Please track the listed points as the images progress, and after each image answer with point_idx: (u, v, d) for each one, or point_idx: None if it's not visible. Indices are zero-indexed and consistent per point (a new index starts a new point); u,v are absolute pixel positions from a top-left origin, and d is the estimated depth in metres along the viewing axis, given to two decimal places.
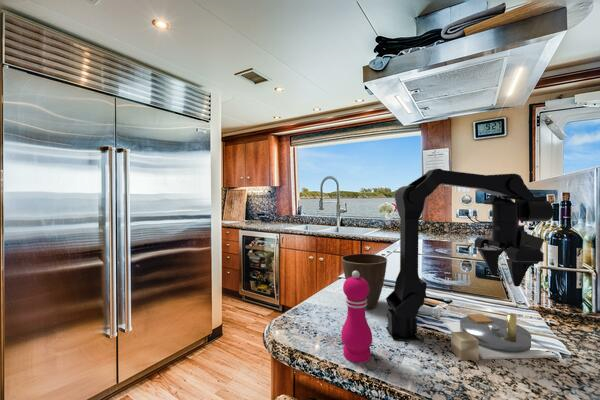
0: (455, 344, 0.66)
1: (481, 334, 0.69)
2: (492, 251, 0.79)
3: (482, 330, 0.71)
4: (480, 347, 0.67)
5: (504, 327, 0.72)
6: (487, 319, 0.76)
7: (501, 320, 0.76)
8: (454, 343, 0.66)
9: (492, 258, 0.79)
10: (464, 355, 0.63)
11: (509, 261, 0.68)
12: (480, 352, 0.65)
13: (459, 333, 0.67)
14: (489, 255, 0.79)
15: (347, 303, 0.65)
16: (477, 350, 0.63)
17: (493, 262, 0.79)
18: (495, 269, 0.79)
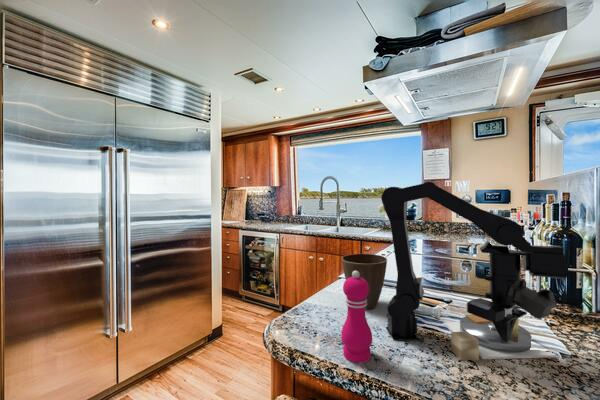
0: (455, 344, 0.66)
1: (483, 335, 0.68)
2: None
3: (483, 330, 0.71)
4: (480, 347, 0.67)
5: None
6: (485, 319, 0.77)
7: None
8: (455, 343, 0.66)
9: None
10: (464, 355, 0.63)
11: None
12: (480, 352, 0.65)
13: (459, 333, 0.67)
14: None
15: (347, 303, 0.65)
16: (477, 350, 0.63)
17: None
18: None
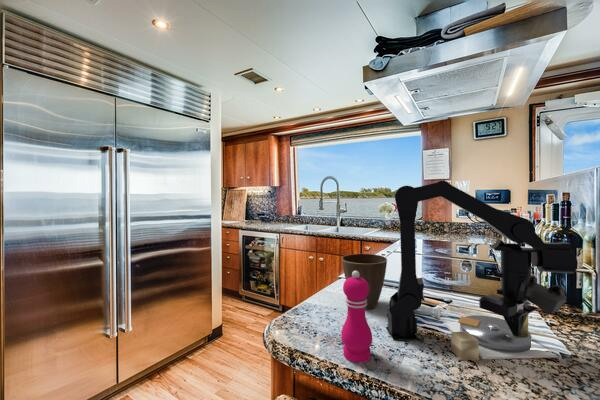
0: (455, 344, 0.66)
1: (506, 340, 0.66)
2: None
3: (496, 334, 0.69)
4: (480, 347, 0.67)
5: (493, 323, 0.74)
6: (474, 320, 0.76)
7: (479, 317, 0.78)
8: (455, 343, 0.66)
9: None
10: (464, 355, 0.63)
11: None
12: (480, 352, 0.65)
13: (459, 333, 0.67)
14: None
15: (347, 303, 0.65)
16: (477, 350, 0.63)
17: None
18: None
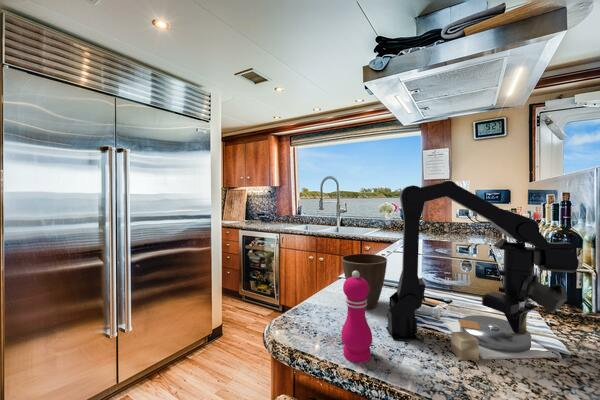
0: (455, 344, 0.66)
1: (515, 340, 0.66)
2: None
3: (502, 335, 0.68)
4: (480, 347, 0.67)
5: (489, 323, 0.75)
6: (472, 322, 0.75)
7: (471, 317, 0.78)
8: (454, 343, 0.66)
9: (515, 312, 0.68)
10: (464, 355, 0.63)
11: None
12: (480, 352, 0.65)
13: (459, 333, 0.67)
14: None
15: (347, 303, 0.65)
16: (477, 350, 0.63)
17: None
18: None
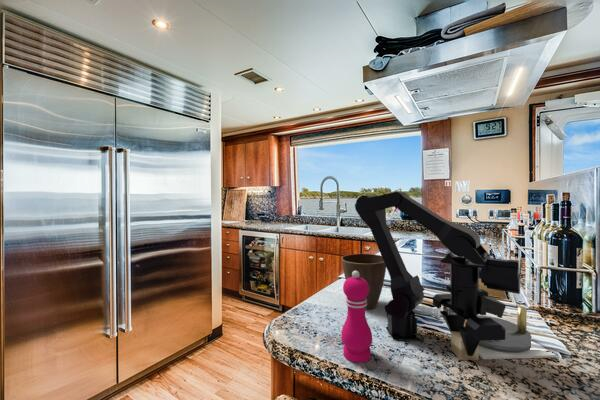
0: (455, 344, 0.66)
1: (515, 340, 0.66)
2: (457, 316, 0.68)
3: None
4: (480, 347, 0.67)
5: None
6: None
7: None
8: (454, 343, 0.66)
9: (457, 325, 0.68)
10: (464, 355, 0.63)
11: (461, 330, 0.61)
12: (480, 352, 0.65)
13: (459, 333, 0.67)
14: (453, 321, 0.68)
15: (347, 303, 0.65)
16: (477, 350, 0.63)
17: (458, 330, 0.68)
18: None
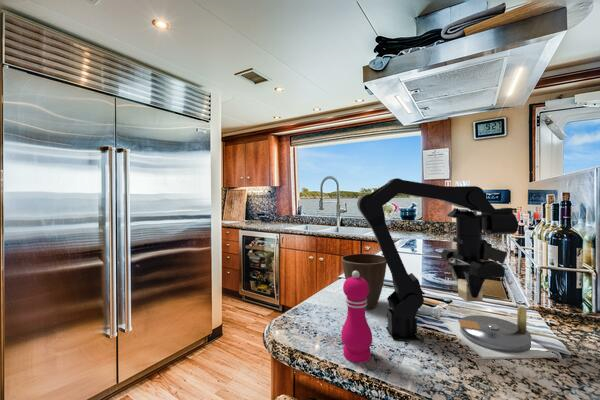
0: (461, 289, 0.73)
1: (515, 340, 0.66)
2: (463, 266, 0.76)
3: (502, 335, 0.68)
4: (480, 347, 0.67)
5: (489, 323, 0.75)
6: (472, 322, 0.75)
7: (471, 317, 0.78)
8: (461, 288, 0.73)
9: (463, 273, 0.75)
10: (469, 297, 0.71)
11: (466, 273, 0.69)
12: (480, 352, 0.65)
13: (465, 279, 0.74)
14: (460, 270, 0.75)
15: (347, 303, 0.65)
16: (481, 292, 0.71)
17: (464, 277, 0.75)
18: None
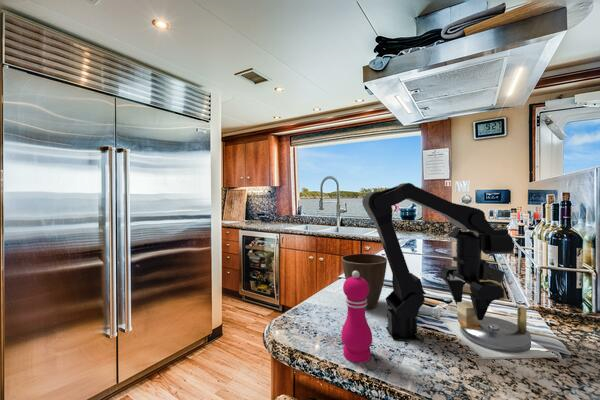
0: (461, 312, 0.76)
1: (515, 340, 0.66)
2: (457, 281, 0.80)
3: (502, 335, 0.68)
4: (480, 347, 0.67)
5: (489, 323, 0.75)
6: None
7: None
8: (460, 311, 0.76)
9: (457, 288, 0.80)
10: (469, 320, 0.73)
11: (472, 296, 0.69)
12: (480, 352, 0.65)
13: (464, 303, 0.77)
14: (454, 285, 0.80)
15: (347, 303, 0.65)
16: None
17: (458, 292, 0.80)
18: (459, 299, 0.80)
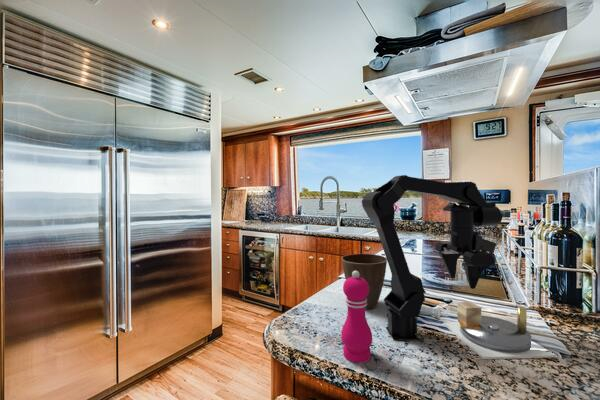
0: (461, 312, 0.76)
1: (515, 340, 0.66)
2: (451, 255, 0.83)
3: (502, 335, 0.68)
4: (480, 347, 0.67)
5: (489, 323, 0.75)
6: None
7: None
8: (460, 311, 0.76)
9: (451, 261, 0.83)
10: (469, 320, 0.73)
11: (465, 265, 0.72)
12: (480, 352, 0.65)
13: (464, 303, 0.77)
14: (448, 259, 0.83)
15: (347, 303, 0.65)
16: (480, 316, 0.73)
17: (452, 265, 0.83)
18: (453, 272, 0.83)
